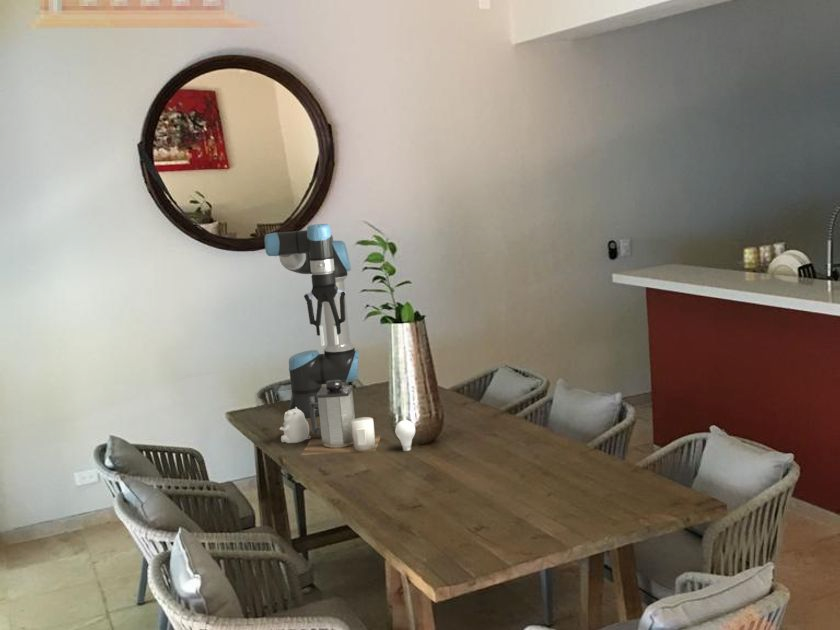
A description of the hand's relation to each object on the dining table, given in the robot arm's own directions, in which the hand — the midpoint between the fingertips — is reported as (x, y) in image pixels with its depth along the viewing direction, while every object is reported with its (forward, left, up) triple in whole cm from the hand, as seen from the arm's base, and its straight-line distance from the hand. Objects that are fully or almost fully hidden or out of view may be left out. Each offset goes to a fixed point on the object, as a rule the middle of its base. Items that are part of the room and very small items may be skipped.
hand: (330, 344), depth 281 cm
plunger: (0, 0, -30) cm, 30 cm away
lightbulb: (+11, +23, -35) cm, 43 cm away
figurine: (-8, -16, -35) cm, 39 cm away
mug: (+6, +9, -33) cm, 35 cm away
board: (+2, +1, -35) cm, 35 cm away
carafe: (0, -2, -33) cm, 33 cm away
